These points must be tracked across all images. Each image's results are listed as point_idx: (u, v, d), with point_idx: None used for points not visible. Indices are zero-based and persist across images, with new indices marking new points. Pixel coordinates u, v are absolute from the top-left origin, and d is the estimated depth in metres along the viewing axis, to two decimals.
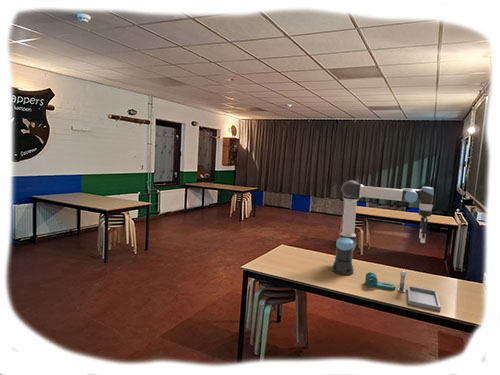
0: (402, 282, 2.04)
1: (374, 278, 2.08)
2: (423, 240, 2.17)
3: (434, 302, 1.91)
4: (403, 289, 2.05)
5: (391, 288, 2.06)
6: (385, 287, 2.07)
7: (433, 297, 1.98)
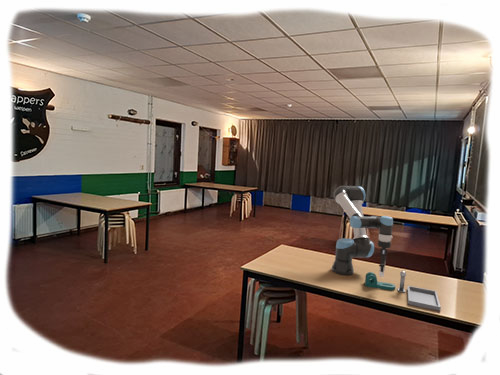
0: (402, 282, 2.04)
1: (374, 278, 2.08)
2: (382, 274, 2.03)
3: (434, 302, 1.91)
4: (403, 289, 2.05)
5: (391, 288, 2.06)
6: (385, 287, 2.07)
7: (433, 297, 1.98)
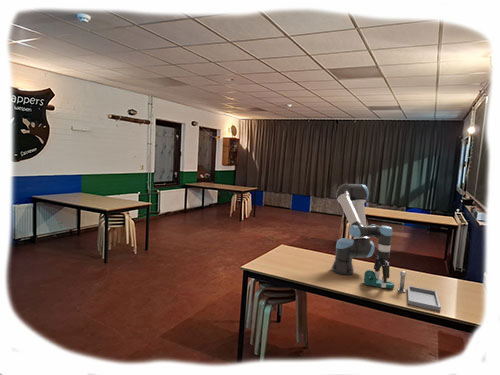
0: (402, 282, 2.04)
1: (373, 276, 2.09)
2: (384, 285, 2.06)
3: (434, 302, 1.91)
4: (403, 289, 2.05)
5: (390, 286, 2.07)
6: None
7: (433, 297, 1.98)
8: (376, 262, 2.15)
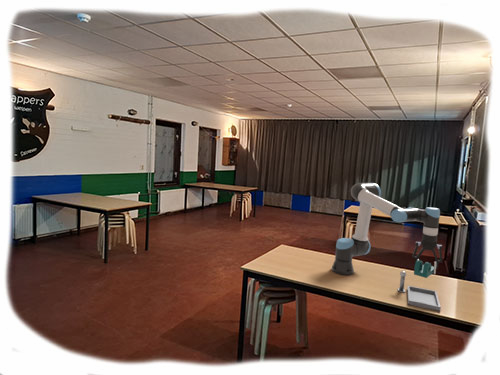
0: (402, 282, 2.04)
1: (430, 265, 1.87)
2: None
3: (434, 302, 1.91)
4: (403, 289, 2.05)
5: None
6: (433, 270, 1.92)
7: (433, 297, 1.98)
8: None
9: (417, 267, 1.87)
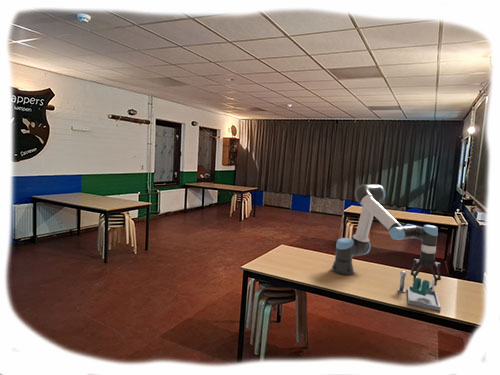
0: (402, 282, 2.04)
1: (428, 283, 1.88)
2: (433, 288, 1.93)
3: (434, 302, 1.91)
4: (403, 289, 2.05)
5: None
6: (431, 288, 1.93)
7: (433, 297, 1.98)
8: None
9: (415, 285, 1.88)
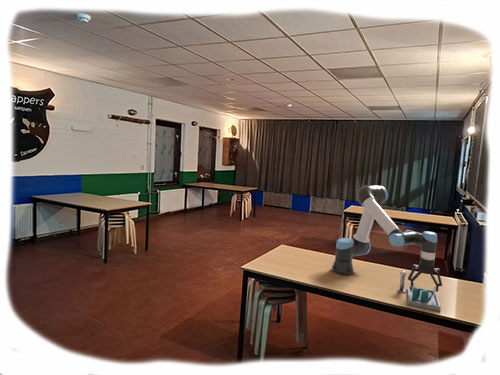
0: (402, 282, 2.04)
1: (427, 292, 1.89)
2: (434, 293, 1.93)
3: (434, 302, 1.91)
4: (403, 289, 2.05)
5: (431, 295, 1.97)
6: (430, 297, 1.94)
7: (433, 297, 1.98)
8: (413, 272, 1.95)
9: (415, 295, 1.89)
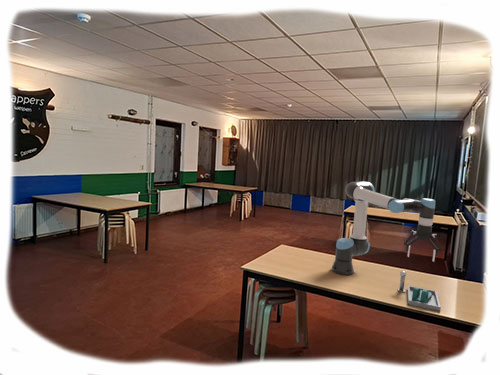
0: (402, 282, 2.04)
1: (427, 292, 1.89)
2: None
3: (434, 302, 1.91)
4: (403, 289, 2.05)
5: (431, 295, 1.97)
6: (430, 297, 1.94)
7: (433, 297, 1.98)
8: None
9: (415, 294, 1.89)
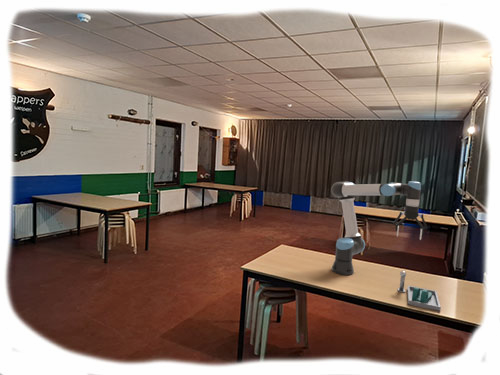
0: (402, 282, 2.04)
1: (427, 292, 1.89)
2: None
3: (434, 302, 1.91)
4: (403, 289, 2.05)
5: (431, 295, 1.97)
6: (430, 297, 1.94)
7: (433, 297, 1.98)
8: None
9: (415, 294, 1.89)
